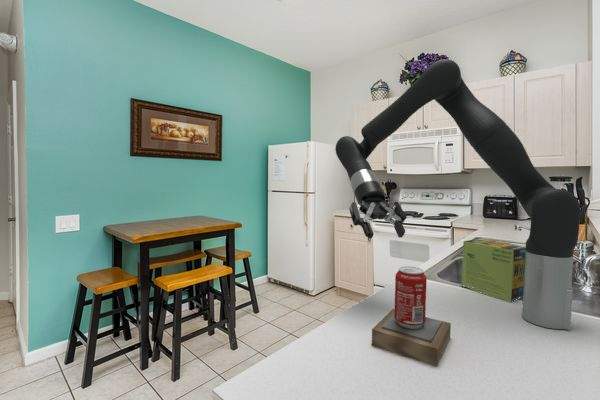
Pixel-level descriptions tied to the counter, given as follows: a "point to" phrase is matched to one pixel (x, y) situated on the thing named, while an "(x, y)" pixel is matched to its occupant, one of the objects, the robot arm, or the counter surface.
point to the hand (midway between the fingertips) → (386, 236)
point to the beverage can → (410, 297)
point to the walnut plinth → (413, 338)
